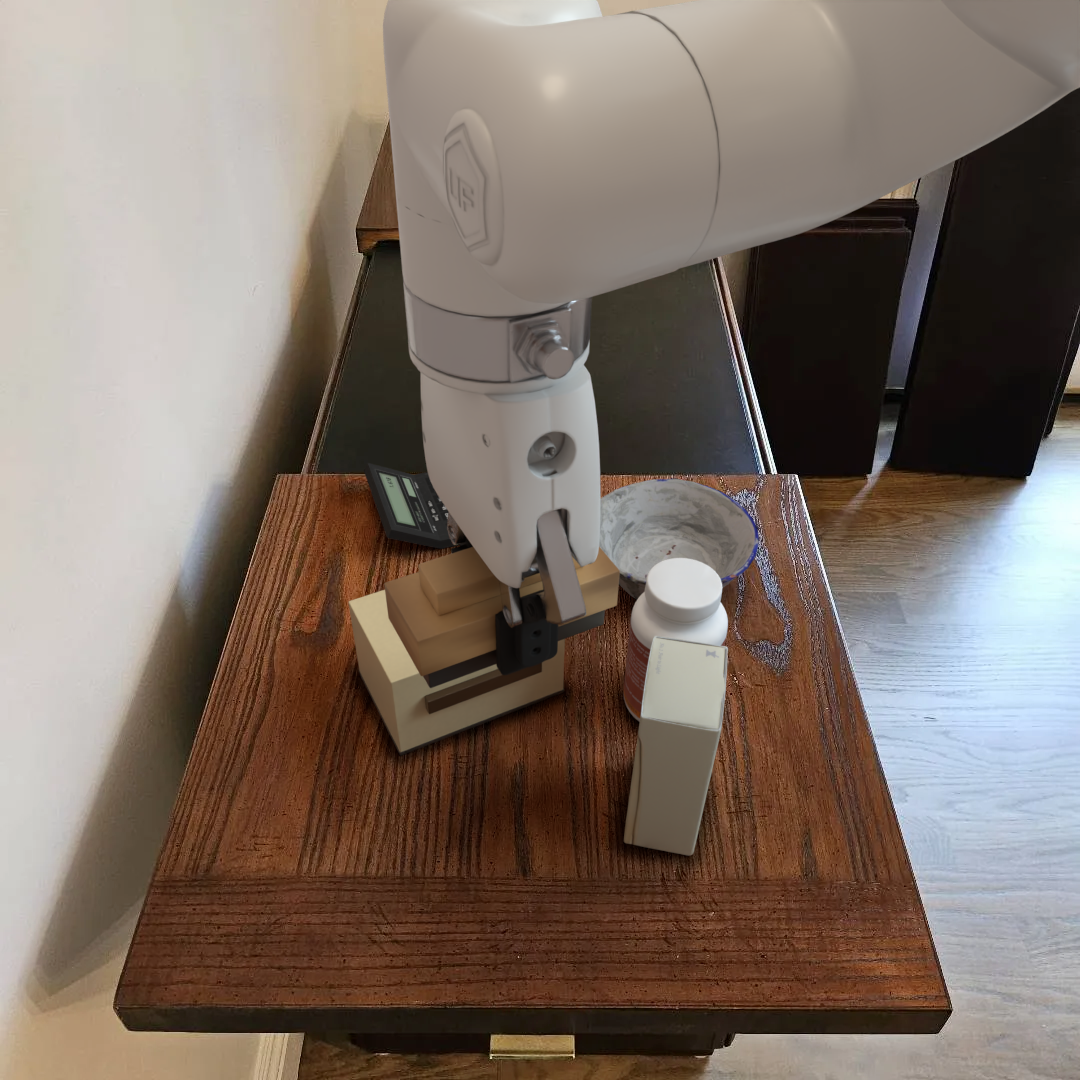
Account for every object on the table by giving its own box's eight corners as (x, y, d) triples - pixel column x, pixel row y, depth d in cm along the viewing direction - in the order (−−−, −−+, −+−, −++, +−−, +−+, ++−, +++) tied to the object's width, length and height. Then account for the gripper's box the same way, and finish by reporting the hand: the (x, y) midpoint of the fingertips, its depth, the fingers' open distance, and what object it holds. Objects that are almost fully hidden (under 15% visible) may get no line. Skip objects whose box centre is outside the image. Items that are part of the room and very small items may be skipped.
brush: (575, 574, 56) (578, 498, 52) (615, 626, 53) (622, 548, 49) (390, 638, 52) (380, 559, 49) (423, 697, 49) (415, 618, 46)
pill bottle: (663, 751, 65) (679, 632, 58) (604, 693, 69) (613, 573, 62) (732, 709, 68) (756, 590, 61) (672, 655, 72) (688, 536, 65)
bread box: (568, 697, 69) (570, 625, 64) (403, 762, 64) (393, 690, 60) (513, 618, 74) (512, 547, 70) (358, 672, 70) (346, 600, 66)
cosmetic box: (636, 763, 64) (650, 631, 56) (705, 775, 64) (729, 642, 56) (622, 847, 60) (636, 715, 52) (696, 861, 59) (722, 730, 51)
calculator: (528, 530, 82) (528, 501, 80) (389, 559, 79) (386, 530, 77) (495, 466, 89) (494, 439, 87) (366, 491, 86) (362, 463, 84)
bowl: (783, 605, 76) (793, 558, 72) (630, 652, 72) (634, 603, 69) (699, 507, 85) (705, 461, 82) (560, 543, 81) (561, 496, 78)
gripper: (691, 394, 36) (650, 717, 48) (493, 223, 48) (499, 518, 60) (505, 447, 34) (510, 775, 45) (343, 252, 45) (380, 555, 57)
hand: (504, 626), depth 52 cm, fingers closed on brush, 4 cm apart
